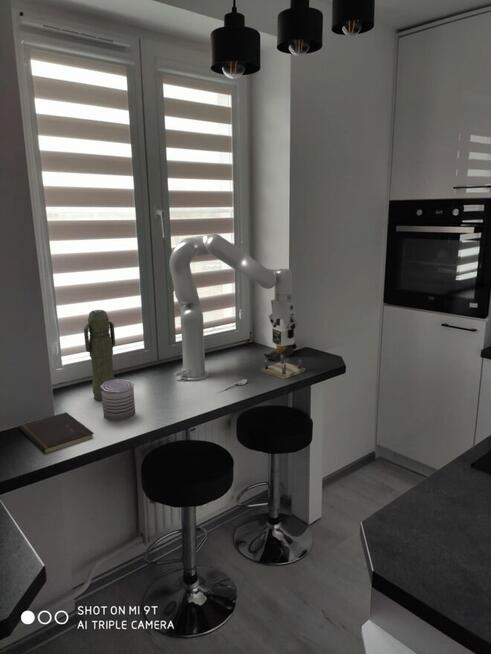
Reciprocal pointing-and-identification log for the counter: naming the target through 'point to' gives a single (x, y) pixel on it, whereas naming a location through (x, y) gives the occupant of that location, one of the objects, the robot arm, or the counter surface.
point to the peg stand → (283, 368)
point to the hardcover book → (56, 432)
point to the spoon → (233, 384)
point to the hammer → (280, 348)
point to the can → (118, 400)
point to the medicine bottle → (281, 334)
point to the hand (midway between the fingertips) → (283, 335)
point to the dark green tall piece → (100, 349)
